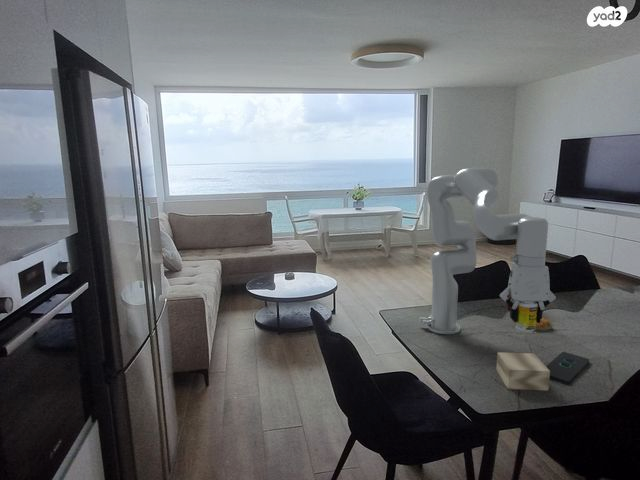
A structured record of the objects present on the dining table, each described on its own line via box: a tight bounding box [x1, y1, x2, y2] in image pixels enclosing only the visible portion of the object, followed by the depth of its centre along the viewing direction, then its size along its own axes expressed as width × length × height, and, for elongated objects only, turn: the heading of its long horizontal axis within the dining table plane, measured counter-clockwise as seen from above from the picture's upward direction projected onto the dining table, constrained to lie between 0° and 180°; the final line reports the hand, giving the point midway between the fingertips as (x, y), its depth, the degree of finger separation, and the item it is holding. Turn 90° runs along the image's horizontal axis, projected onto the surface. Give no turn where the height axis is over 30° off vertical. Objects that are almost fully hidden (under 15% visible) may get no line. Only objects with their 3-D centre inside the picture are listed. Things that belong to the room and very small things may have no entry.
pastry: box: [533, 317, 553, 332], centre depth 160 cm, size 9×7×4 cm
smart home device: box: [545, 351, 590, 386], centre depth 128 cm, size 8×2×20 cm
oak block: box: [495, 351, 550, 392], centre depth 122 cm, size 11×11×6 cm
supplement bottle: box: [514, 301, 538, 333], centre depth 118 cm, size 6×6×10 cm
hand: (525, 320), depth 119 cm, fingers closed on supplement bottle, 5 cm apart
